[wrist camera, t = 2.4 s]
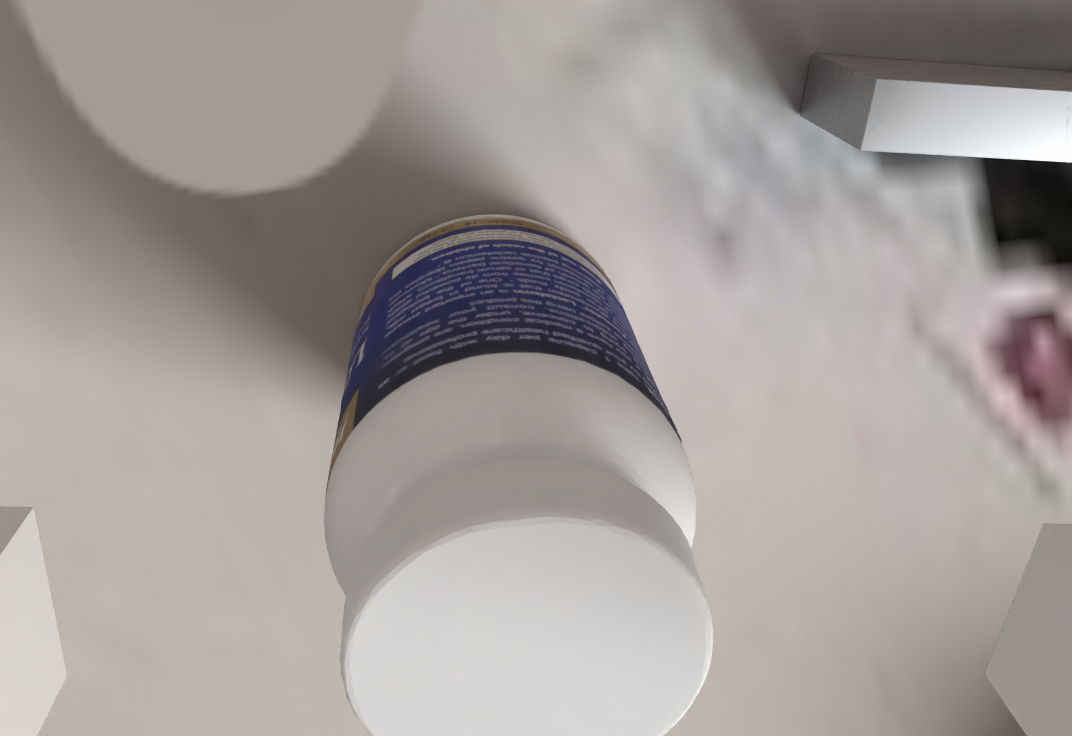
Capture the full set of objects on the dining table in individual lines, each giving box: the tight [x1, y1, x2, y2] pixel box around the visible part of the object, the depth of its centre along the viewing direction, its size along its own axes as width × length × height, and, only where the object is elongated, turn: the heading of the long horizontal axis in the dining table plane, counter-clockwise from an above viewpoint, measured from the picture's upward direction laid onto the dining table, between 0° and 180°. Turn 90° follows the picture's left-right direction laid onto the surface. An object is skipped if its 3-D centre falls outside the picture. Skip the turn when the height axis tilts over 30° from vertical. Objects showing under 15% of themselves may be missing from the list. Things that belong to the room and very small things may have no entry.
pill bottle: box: [324, 214, 713, 736], centre depth 16 cm, size 6×6×10 cm
